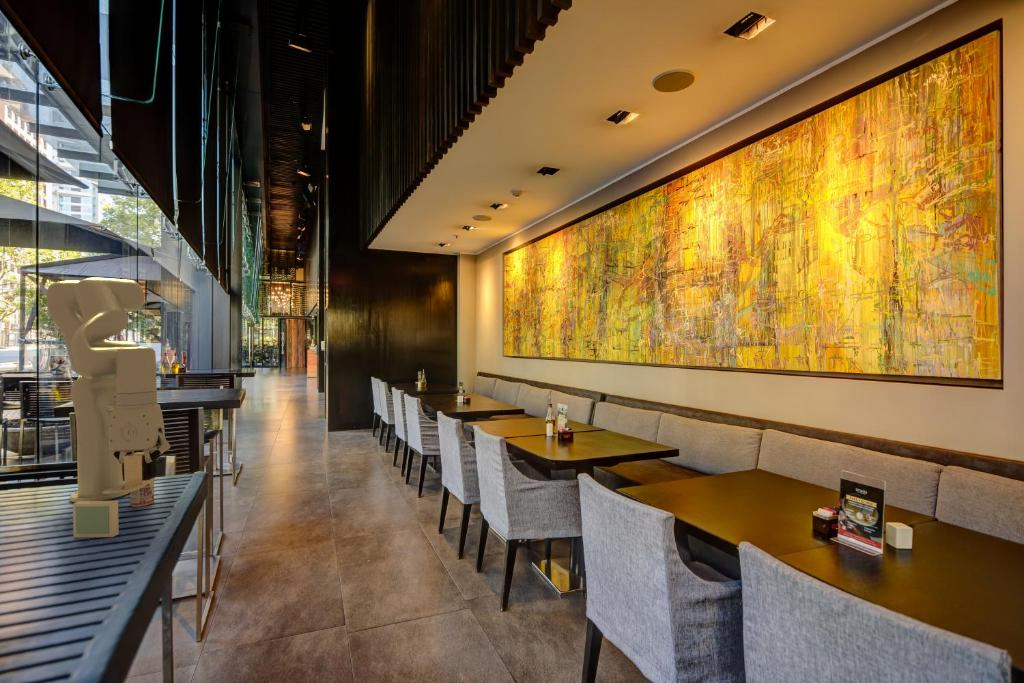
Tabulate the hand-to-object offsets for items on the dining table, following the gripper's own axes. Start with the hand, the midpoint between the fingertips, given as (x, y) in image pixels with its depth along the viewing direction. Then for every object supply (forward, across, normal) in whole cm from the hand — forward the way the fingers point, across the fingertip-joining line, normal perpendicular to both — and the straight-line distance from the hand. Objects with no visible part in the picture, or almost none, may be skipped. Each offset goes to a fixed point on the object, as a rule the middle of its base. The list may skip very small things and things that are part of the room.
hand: (139, 478), depth 116 cm
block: (+9, -1, -12) cm, 15 cm away
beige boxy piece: (+1, 0, -3) cm, 3 cm away
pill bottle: (+8, -6, +8) cm, 13 cm away
